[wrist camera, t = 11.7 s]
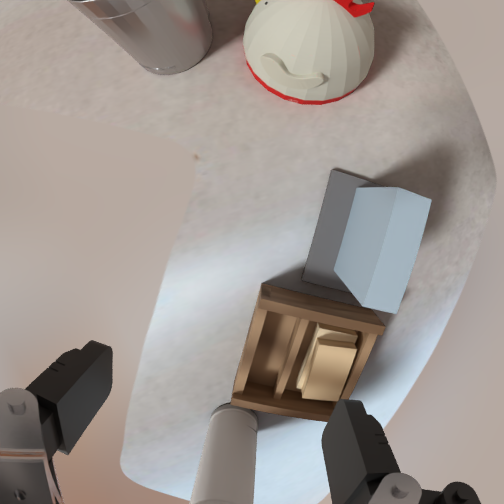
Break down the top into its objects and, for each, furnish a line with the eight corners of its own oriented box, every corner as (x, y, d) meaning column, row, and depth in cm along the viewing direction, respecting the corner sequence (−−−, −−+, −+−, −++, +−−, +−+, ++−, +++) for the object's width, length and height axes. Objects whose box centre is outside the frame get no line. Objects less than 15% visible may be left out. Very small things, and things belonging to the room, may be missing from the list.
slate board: (356, 187, 31) (398, 187, 20) (382, 196, 31) (431, 199, 20) (333, 270, 33) (362, 306, 22) (358, 276, 33) (396, 314, 22)
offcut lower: (317, 322, 34) (319, 328, 32) (354, 329, 34) (357, 336, 32) (295, 380, 35) (296, 388, 34) (330, 386, 35) (332, 394, 34)
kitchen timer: (272, -11, 28) (272, -95, 13) (380, 32, 28) (431, -36, 13) (224, 78, 30) (195, 6, 15) (344, 125, 31) (398, 82, 16)
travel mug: (267, 412, 37) (265, 542, 18) (244, 441, 39) (232, 560, 19) (224, 394, 37) (196, 524, 18) (204, 424, 38) (172, 544, 19)
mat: (331, 169, 31) (332, 169, 31) (406, 195, 32) (408, 195, 31) (301, 279, 34) (301, 280, 33) (375, 297, 34) (377, 299, 33)
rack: (261, 283, 34) (260, 298, 29) (371, 309, 34) (385, 326, 29) (234, 380, 37) (230, 404, 32) (333, 399, 37) (340, 423, 32)
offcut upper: (317, 337, 32) (319, 344, 31) (353, 342, 32) (357, 349, 31) (301, 390, 34) (302, 398, 32) (335, 393, 34) (337, 401, 32)
